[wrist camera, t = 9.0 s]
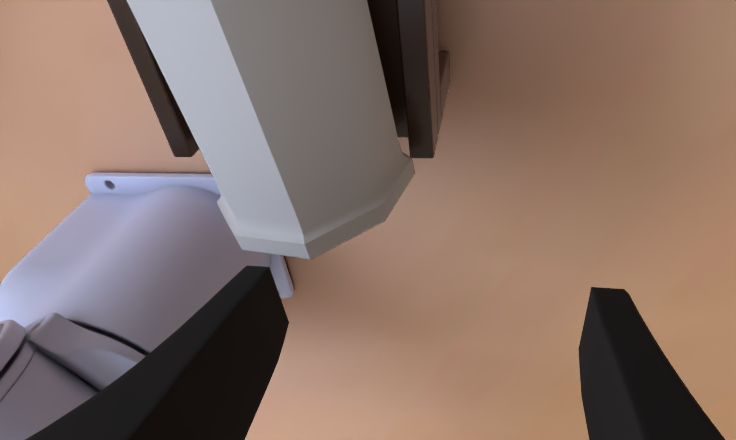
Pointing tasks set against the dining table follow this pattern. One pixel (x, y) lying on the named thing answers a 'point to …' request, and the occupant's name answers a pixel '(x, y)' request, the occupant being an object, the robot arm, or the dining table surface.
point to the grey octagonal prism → (284, 115)
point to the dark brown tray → (397, 55)
